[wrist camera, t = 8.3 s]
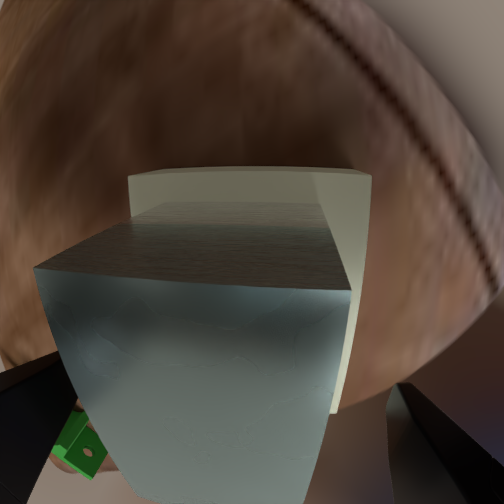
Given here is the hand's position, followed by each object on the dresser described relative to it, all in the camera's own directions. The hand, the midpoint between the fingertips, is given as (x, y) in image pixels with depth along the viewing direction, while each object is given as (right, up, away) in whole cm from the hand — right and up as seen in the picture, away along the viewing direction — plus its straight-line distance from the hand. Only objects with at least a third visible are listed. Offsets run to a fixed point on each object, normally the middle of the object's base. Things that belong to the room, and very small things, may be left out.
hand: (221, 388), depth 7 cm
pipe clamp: (-16, -10, +13) cm, 23 cm away
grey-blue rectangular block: (0, +1, +3) cm, 4 cm away
